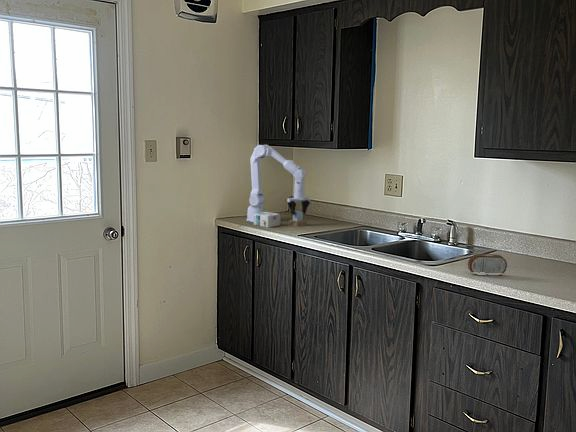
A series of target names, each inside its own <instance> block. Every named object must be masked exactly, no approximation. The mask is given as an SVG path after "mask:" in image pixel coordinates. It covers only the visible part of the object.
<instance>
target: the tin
mask: <svg viewBox="0 0 576 432" xmlns="http://www.w3.org/2000/svg"><path fill="white" fill-rule="evenodd" d="M467 267H468V270H469V271H470V273H472V272H478V273H480V272H485V273H503V274H504V273H505V272H506V271H507V267H508V263H507V260H506V259H505V258H504V257H503V256H502V255H500V254H494V253H492V254H490V253H476V254H474V255H472V256H471V257H470V258H469V260H468V262H467Z"/></svg>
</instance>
